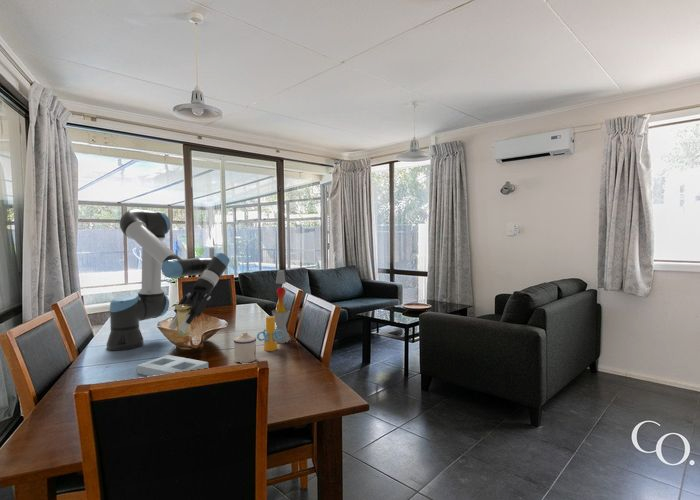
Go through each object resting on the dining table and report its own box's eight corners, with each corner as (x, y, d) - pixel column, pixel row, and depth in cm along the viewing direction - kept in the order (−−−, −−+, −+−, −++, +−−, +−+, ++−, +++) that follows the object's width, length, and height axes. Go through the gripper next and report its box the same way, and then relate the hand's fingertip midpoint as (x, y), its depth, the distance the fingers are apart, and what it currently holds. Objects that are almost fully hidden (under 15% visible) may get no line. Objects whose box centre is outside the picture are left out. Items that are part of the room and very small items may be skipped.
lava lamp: (293, 341, 188) (293, 270, 186) (276, 344, 183) (275, 271, 181) (285, 337, 195) (285, 269, 194) (269, 340, 190) (268, 270, 189)
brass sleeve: (172, 336, 153) (171, 306, 152) (184, 332, 159) (183, 304, 158) (183, 338, 150) (182, 307, 150) (195, 334, 156) (194, 305, 156)
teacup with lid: (259, 360, 159) (259, 333, 158) (238, 365, 153) (238, 336, 153) (249, 353, 168) (248, 327, 168) (228, 357, 163) (228, 330, 163)
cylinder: (276, 354, 167) (276, 320, 167) (254, 352, 170) (253, 319, 169) (286, 346, 179) (286, 314, 179) (265, 345, 182) (265, 313, 181)
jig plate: (136, 373, 144) (136, 365, 144) (168, 362, 157) (168, 354, 157) (178, 382, 135) (178, 374, 135) (208, 369, 148) (208, 362, 148)
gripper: (226, 289, 164) (198, 336, 150) (195, 287, 171) (165, 332, 157) (217, 278, 159) (187, 326, 145) (185, 276, 166) (154, 322, 152)
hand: (176, 329), depth 151 cm, fingers closed on brass sleeve, 5 cm apart
